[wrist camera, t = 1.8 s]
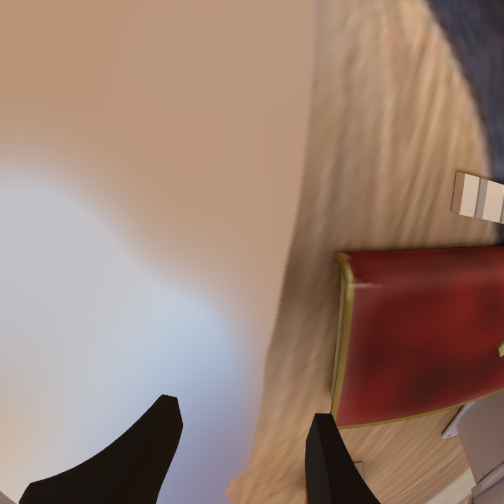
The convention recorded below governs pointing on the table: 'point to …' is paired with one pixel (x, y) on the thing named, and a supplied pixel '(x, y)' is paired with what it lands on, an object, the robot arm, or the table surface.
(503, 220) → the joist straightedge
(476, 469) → the robot arm
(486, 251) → the hardcover book
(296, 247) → the table surface
